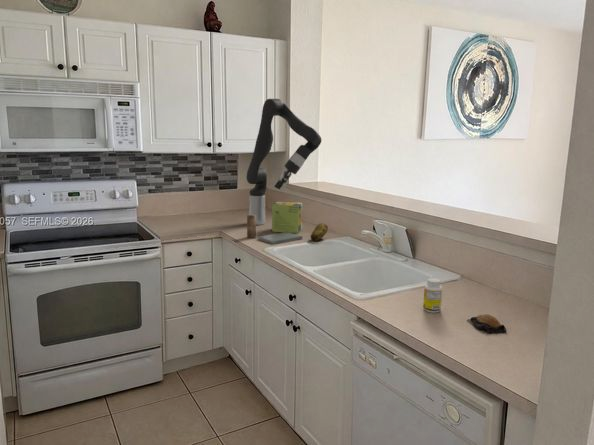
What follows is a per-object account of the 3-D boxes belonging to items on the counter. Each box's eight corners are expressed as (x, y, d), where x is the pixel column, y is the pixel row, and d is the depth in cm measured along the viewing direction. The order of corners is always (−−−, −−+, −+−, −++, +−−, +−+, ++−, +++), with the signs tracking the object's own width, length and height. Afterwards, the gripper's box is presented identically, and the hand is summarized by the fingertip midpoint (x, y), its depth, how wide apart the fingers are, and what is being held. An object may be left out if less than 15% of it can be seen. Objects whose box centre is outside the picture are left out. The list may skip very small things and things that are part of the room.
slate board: (258, 239, 250) (258, 236, 249) (286, 234, 262) (286, 231, 261) (273, 244, 240) (273, 241, 240) (302, 239, 252) (302, 236, 252)
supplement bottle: (427, 305, 160) (429, 276, 158) (443, 309, 157) (445, 279, 155) (420, 310, 156) (422, 280, 154) (436, 314, 153) (438, 283, 151)
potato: (304, 240, 250) (304, 224, 248) (321, 236, 259) (321, 221, 257) (315, 242, 244) (316, 227, 242) (332, 239, 253) (333, 224, 251)
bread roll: (464, 322, 149) (465, 310, 148) (489, 320, 150) (490, 308, 150) (484, 336, 138) (485, 324, 138) (510, 334, 140) (512, 322, 139)
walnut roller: (245, 237, 254) (245, 215, 252) (252, 236, 257) (252, 214, 255) (250, 238, 251) (250, 216, 249) (257, 237, 254) (257, 215, 251)
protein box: (298, 233, 266) (299, 205, 263) (271, 231, 269) (271, 204, 266) (302, 229, 276) (302, 202, 273) (276, 227, 279) (276, 201, 276)
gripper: (287, 159, 260) (269, 183, 260) (291, 158, 246) (272, 184, 246) (298, 167, 261) (280, 191, 261) (302, 167, 247) (283, 192, 247)
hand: (276, 188), depth 254 cm, fingers open, 8 cm apart
